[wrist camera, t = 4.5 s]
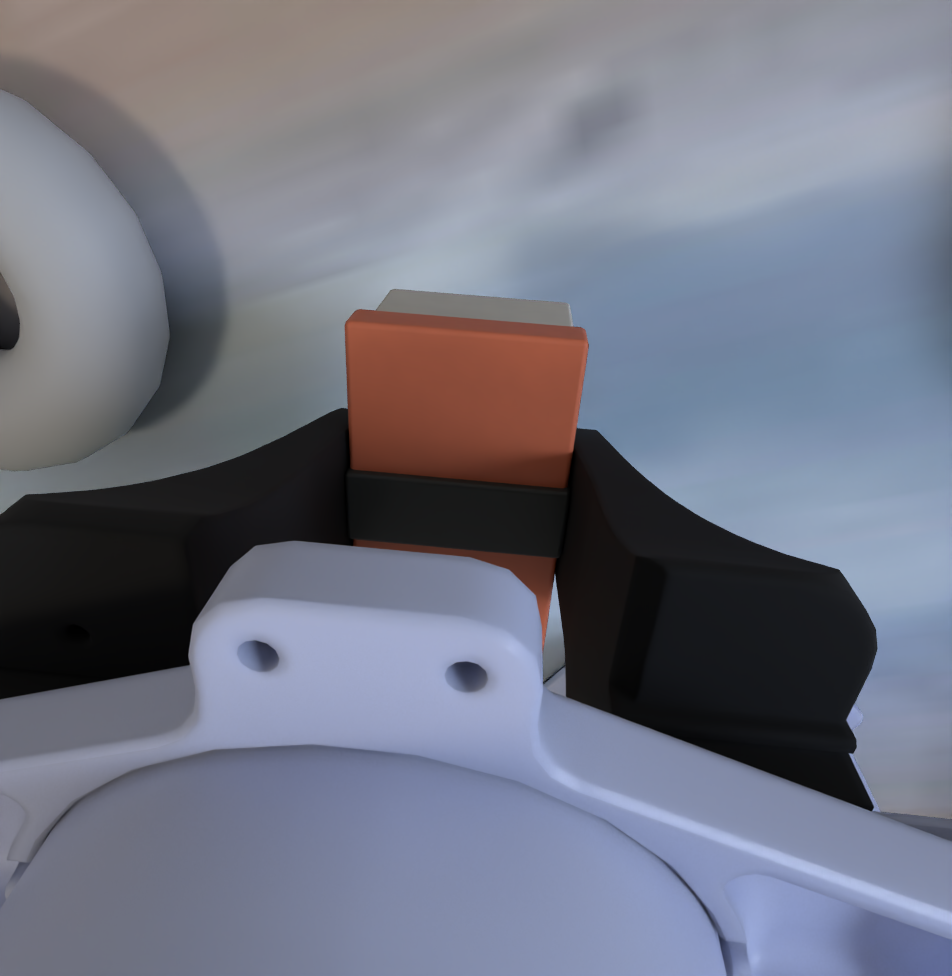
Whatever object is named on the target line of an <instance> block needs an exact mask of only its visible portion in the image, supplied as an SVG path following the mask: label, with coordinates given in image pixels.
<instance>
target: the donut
mask: <svg viewBox="0 0 952 976" xmlns="http://www.w3.org/2000/svg"><path fill="white" fill-rule="evenodd" d="M0 272H1V274H2V276H3V278H4V279H5V281H6V283H7V285H8V287H9V289H10V290H11V292H12V294H13V296H14V299H15V303H16V307H17V311H18V315H19V319H20V332H19V339H18V341H17V343H16V345H15V347H14V348H12V349H10V350H5V349H0V469H2V470H9V471H29V470H35V469H41V468H46V467H52V466H58V465H64V464H70V463H75V462H78V461H80V460H82V459H84V458H86V457H88V456H90V455H92V454H93V453H95V452H97V451H98V450H100V449H101V448H103V447H105V446H106V445H108V444H110V443H111V442H113V441H115V440H116V439H118V438H120V437H121V436H123V435H125V434H126V433H127V432H128V431H129V430H130V428H131V427H132V425H133V424H134V423H135V421H136V420H137V418H138V417H139V415H140V414H141V413H142V411H143V410H144V408H145V407H146V405H147V404H148V402H149V401H150V399H151V398H152V397H153V395H154V394H155V392H156V391H157V389H158V388H159V386H160V382H161V377H162V372H163V368H164V363H165V358H166V353H167V348H168V343H169V338H170V332H169V323H168V316H167V308H166V301H165V293H164V286H163V278H162V273H161V270H160V268H159V266H158V263H157V261H156V259H155V256H154V254H153V252H152V249H151V247H150V245H149V242H148V240H147V238H146V235H145V233H144V231H143V228H142V226H141V224H140V221H139V219H138V217H137V215H136V213H135V212H134V210H133V209H132V208H131V206H130V205H129V204H128V202H127V201H126V200H125V198H124V197H123V196H122V194H121V193H120V192H119V191H118V189H117V188H116V187H115V185H114V184H113V183H112V181H111V180H110V179H109V177H108V176H107V175H106V173H105V172H104V171H103V169H102V168H101V167H100V165H99V164H98V163H97V161H96V160H95V159H94V157H93V156H92V155H91V154H90V153H89V152H88V151H86V150H85V149H84V148H83V147H82V146H80V145H79V144H78V143H77V142H75V141H74V140H73V139H72V138H71V137H69V136H68V135H67V134H66V133H65V132H63V131H62V130H61V129H60V128H58V127H57V126H56V125H55V124H54V123H52V122H51V121H50V120H49V119H48V118H46V117H45V116H44V115H43V114H41V113H40V112H39V111H38V110H37V109H35V108H34V107H33V106H32V105H31V104H29V103H28V102H27V101H26V100H24V99H21V98H19V97H17V96H15V95H13V94H11V93H8V92H6V91H4V90H2V89H0Z"/></svg>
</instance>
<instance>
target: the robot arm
mask: <svg viewBox="0 0 952 976" xmlns="http://www.w3.org/2000/svg"><path fill="white" fill-rule="evenodd" d="M349 466H350V451H349V425H348V409H347V408H340V409H337V410H334V411H332V412H330V413H328V414H326V415H324V416H322V417H320V418H318V419H316V420H314V421H312V422H311V423H309V424H307V425H305V426H303V427H301V428H299V429H297V430H295V431H293V432H291V433H290V434H288V435H286V436H284V437H282V438H279V439H277V440H275V441H273V442H271V443H269V444H266V445H264V446H262V447H260V448H258V449H255V450H253V451H251V452H249V453H246V454H244V455H241V456H239V457H236V458H234V459H231V460H228V461H225V462H222V463H219V464H216V465H213V466H210V467H207V468H204V469H200V470H197V471H192V472H188V473H184V474H180V475H176V476H172V477H168V478H164V479H160V480H155V481H150V482H144V483H139V484H133V485H127V486H120V487H113V488H106V489H97V490H88V491H74V492H61V493H47V494H27V495H25V496H23V497H22V498H21V499H20V500H18V501H17V502H16V503H15V504H13V505H12V506H11V507H10V508H8V509H7V510H6V511H5V512H3V513H2V514H1V515H0V976H952V819H945V818H936V817H926V816H917V815H907V814H897V813H888V812H880V810H879V808H878V806H877V803H876V801H875V799H874V797H873V795H872V793H871V791H870V789H869V787H868V785H867V783H866V781H865V779H864V777H863V775H862V772H861V770H860V768H859V766H858V764H857V762H856V760H855V758H854V756H853V753H854V751H855V749H856V738H855V736H854V734H853V732H852V730H853V729H854V728H856V727H857V726H859V725H860V724H861V723H862V721H863V715H862V713H861V711H860V709H859V708H858V707H857V706H856V705H855V704H854V703H855V701H856V699H857V697H858V695H859V693H860V691H861V689H862V687H863V685H864V683H865V681H866V679H867V677H868V675H869V673H870V671H871V669H872V665H873V662H874V659H875V655H876V652H877V638H876V629H875V627H874V625H873V623H872V621H871V619H870V617H869V615H868V613H867V611H866V609H865V608H864V606H863V605H862V603H861V601H860V600H859V598H858V597H857V595H856V594H855V592H854V591H853V589H852V588H851V586H850V585H849V583H848V581H847V580H846V578H845V577H844V576H843V574H842V573H841V572H840V570H839V569H835V568H832V567H828V566H825V565H821V564H818V563H814V562H811V561H807V560H804V559H800V558H797V557H793V556H790V555H786V554H783V553H780V552H778V551H775V550H772V549H770V548H767V547H764V546H762V545H759V544H756V543H754V542H751V541H749V540H747V539H744V538H742V537H740V536H737V535H735V534H733V533H731V532H729V531H727V530H725V529H723V528H721V527H719V526H717V525H715V524H713V523H711V522H709V521H707V520H705V519H704V518H702V517H700V516H698V515H696V514H695V513H693V512H692V511H690V510H689V509H687V508H685V507H684V506H682V505H681V504H679V503H678V502H676V501H675V500H673V499H672V498H670V497H669V496H668V495H666V494H665V493H663V492H662V491H661V490H660V489H658V488H657V487H656V486H655V485H654V484H652V483H651V482H650V481H649V480H647V479H646V478H645V477H644V476H643V475H642V474H640V473H639V472H638V471H637V470H636V469H635V468H634V467H633V466H632V465H631V464H630V463H629V462H628V461H627V460H626V459H625V458H624V457H623V456H622V455H621V454H620V453H619V452H618V451H617V450H616V449H615V448H614V447H613V446H612V445H611V444H610V443H609V442H608V441H607V440H606V439H605V438H604V437H603V436H602V435H601V434H600V433H599V432H598V431H597V430H589V429H577V428H576V435H575V442H574V448H573V455H572V462H571V468H570V475H569V486H570V495H571V496H570V503H569V509H568V516H567V522H566V529H565V535H564V542H563V548H562V554H561V556H560V557H559V558H557V562H556V569H555V576H556V584H557V591H558V599H559V606H560V613H561V621H562V628H563V636H564V647H565V667H563V668H562V669H561V670H560V671H559V672H558V673H556V674H555V675H554V676H553V677H552V678H551V679H549V680H548V681H547V682H546V683H545V684H544V685H543V660H542V624H541V619H540V614H539V609H538V604H537V599H536V595H535V594H534V593H533V592H532V591H531V590H530V589H529V588H528V587H526V586H525V585H524V584H523V583H522V582H521V581H520V580H519V579H518V578H517V577H516V576H515V575H514V574H513V573H512V572H511V571H510V570H509V569H506V568H502V567H499V566H496V565H493V564H490V563H487V562H484V561H480V560H477V559H474V558H471V557H463V556H452V555H442V554H431V553H420V552H410V551H399V550H388V549H378V548H367V547H356V546H353V539H350V538H349V537H348V533H347V510H346V486H345V474H346V472H347V470H348V468H349Z"/></svg>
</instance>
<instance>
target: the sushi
mask: <svg viewBox="0 0 952 976" xmlns="http://www.w3.org/2000/svg"><path fill="white" fill-rule="evenodd" d="M345 348H346V374H347V399H348V425H349V451H350V466H349V468H348V470H347V472H346V474H345V486H346V510H347V533H348V537H349V538H350V539H353V546H356V547H367V548H378V549H388V550H399V551H410V552H420V553H431V554H442V555H452V556H463V557H471V558H474V559H477V560H480V561H484V562H487V563H490V564H493V565H496V566H499V567H502V568H506V569H509V570H510V571H511V572H512V573H513V574H514V575H515V576H516V577H517V578H518V579H519V580H520V581H521V582H522V583H523V584H524V585H525V586H526V587H528V588H529V589H530V590H531V591H532V592H533V593H534V594H535V595H536V599H537V604H538V609H539V614H540V619H541V624H542V653H543V649H544V642H545V636H546V629H547V622H548V616H549V609H550V602H551V595H552V589H553V582H554V575H555V569H556V562H557V558H559V557H560V556H561V554H562V548H563V542H564V535H565V529H566V522H567V516H568V509H569V503H570V496H571V495H570V486H569V475H570V468H571V462H572V455H573V448H574V442H575V435H576V428H577V421H578V415H579V408H580V401H581V395H582V388H583V381H584V375H585V368H586V361H587V355H588V348H589V344H588V340H587V335H586V331H585V329H583V328H581V327H573V321H572V315H571V309H570V305H569V304H567V303H562V302H549V301H537V300H524V299H512V298H500V297H487V296H475V295H462V294H450V293H437V292H425V291H412V290H400V289H393V290H390V292H389V293H388V294H387V296H386V297H385V298H384V300H383V301H382V303H381V304H380V305H379V307H378V308H377V309H376V311H374V310H362V309H359V310H356V311H355V312H354V313H353V314H352V315H351V316H350V318H349V319H348V320H347V321H346V323H345Z"/></svg>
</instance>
